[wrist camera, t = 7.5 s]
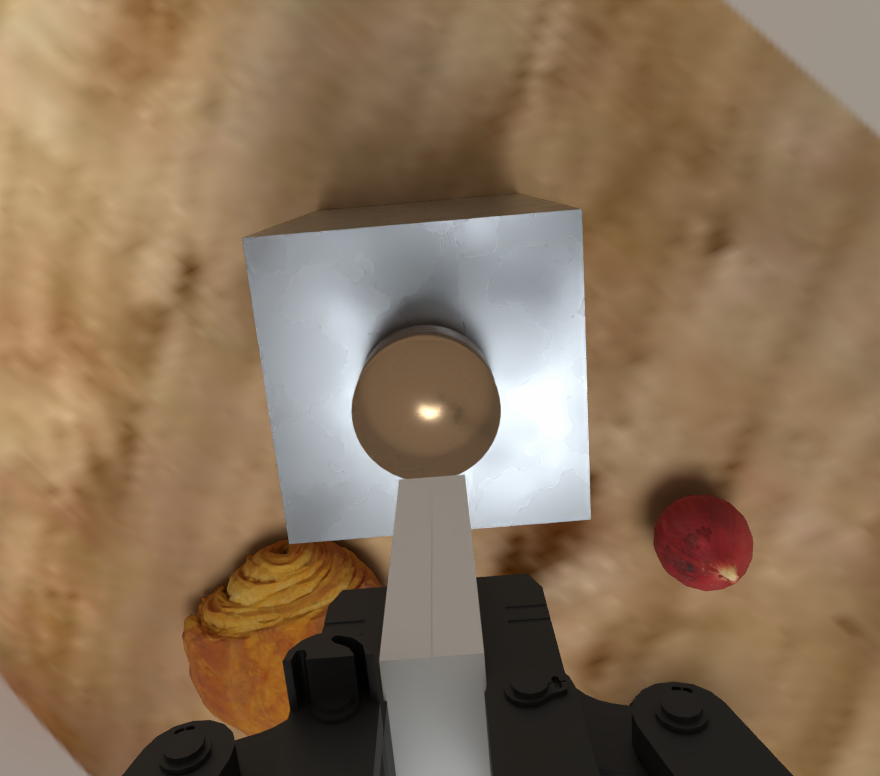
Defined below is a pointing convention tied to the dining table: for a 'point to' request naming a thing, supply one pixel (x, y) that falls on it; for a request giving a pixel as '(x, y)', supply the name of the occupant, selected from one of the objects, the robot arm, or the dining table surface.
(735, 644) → the dining table surface
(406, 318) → the grey peg holder block
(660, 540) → the onion
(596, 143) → the dining table surface
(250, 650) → the croissant
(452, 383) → the plunger
